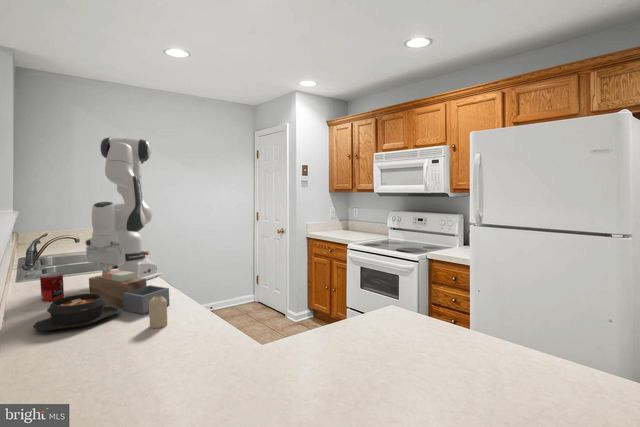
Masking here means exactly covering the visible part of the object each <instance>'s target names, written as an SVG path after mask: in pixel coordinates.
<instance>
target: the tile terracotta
mask: <svg viewBox="0 0 640 427" xmlns="http://www.w3.org/2000/svg"><path fill="white" fill-rule="evenodd" d="M120 272H124V271H121V270H118V269H113V270H111V271H108V272H104V273H102V272H101V275H102V279H106V280H112V274H115V273H120Z"/></svg>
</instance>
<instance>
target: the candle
mask: <svg viewBox="0 0 640 427" xmlns="http://www.w3.org/2000/svg"><path fill="white" fill-rule="evenodd" d="M148 314H149V318H148V319H149V328H151V329H161V328H160V327H162V328H165V327H166V326H168V306H167V300H166V299H165V298H164V297H162V296H159V297H157V296H154V297H153V298H152V299H151V300H150V301H149V313H148ZM164 326H165V327H164Z"/></svg>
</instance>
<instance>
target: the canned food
mask: <svg viewBox="0 0 640 427" xmlns="http://www.w3.org/2000/svg"><path fill="white" fill-rule="evenodd" d="M63 275H64V274H63V272H61V271H52V272H46V273H41V274H40V275H39V279H40V280H39V282H40V283H39V284H40V295H41V296H40V298H41V302H44V303H52V302H53V301H55V300H57V299H60V298H64V297H65V289H64V276H63Z"/></svg>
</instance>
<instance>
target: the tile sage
mask: <svg viewBox="0 0 640 427" xmlns="http://www.w3.org/2000/svg"><path fill="white" fill-rule="evenodd" d="M132 279H135V272H128V271H124V272H120V273H115V274H112V281H119V282H124V281H128V280H132Z"/></svg>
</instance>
